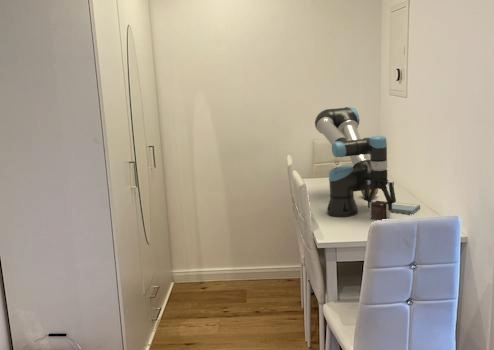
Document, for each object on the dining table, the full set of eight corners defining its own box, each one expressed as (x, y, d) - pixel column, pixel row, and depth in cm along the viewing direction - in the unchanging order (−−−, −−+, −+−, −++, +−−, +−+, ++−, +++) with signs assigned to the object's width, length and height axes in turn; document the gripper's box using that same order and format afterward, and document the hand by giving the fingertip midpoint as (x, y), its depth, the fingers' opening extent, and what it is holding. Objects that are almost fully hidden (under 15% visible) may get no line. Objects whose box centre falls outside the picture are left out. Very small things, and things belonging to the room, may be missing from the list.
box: (376, 214, 237) (376, 200, 236) (388, 216, 234) (388, 201, 232) (371, 218, 233) (370, 203, 231) (383, 219, 229) (382, 204, 227)
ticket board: (383, 211, 243) (383, 207, 242) (393, 205, 251) (392, 201, 251) (411, 215, 234) (411, 210, 234) (420, 208, 243) (420, 204, 242)
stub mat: (370, 219, 233) (370, 218, 233) (375, 215, 238) (375, 214, 238) (384, 220, 229) (384, 219, 229) (389, 217, 233) (389, 216, 233)
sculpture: (369, 179, 278) (381, 178, 263) (374, 195, 278) (386, 194, 263) (354, 184, 276) (365, 183, 261) (359, 200, 276) (370, 199, 261)
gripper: (355, 169, 232) (356, 215, 237) (397, 172, 219) (398, 220, 224) (362, 166, 238) (363, 211, 242) (403, 168, 225) (404, 216, 229)
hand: (380, 215), depth 233 cm, fingers open, 8 cm apart
